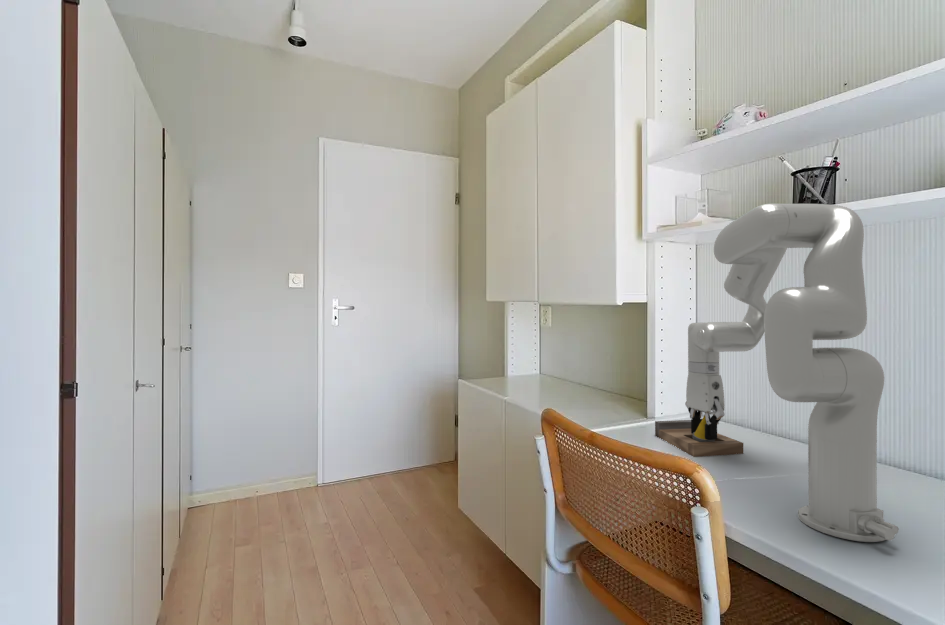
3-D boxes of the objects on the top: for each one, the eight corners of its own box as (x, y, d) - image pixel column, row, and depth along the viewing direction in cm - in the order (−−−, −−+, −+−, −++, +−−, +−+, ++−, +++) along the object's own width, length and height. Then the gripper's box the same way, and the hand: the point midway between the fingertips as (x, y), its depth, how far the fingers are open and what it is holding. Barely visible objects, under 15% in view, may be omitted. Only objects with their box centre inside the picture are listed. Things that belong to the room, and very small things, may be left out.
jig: (743, 454, 119) (743, 435, 119) (693, 457, 117) (693, 437, 117) (698, 436, 137) (698, 419, 137) (655, 438, 135) (655, 421, 135)
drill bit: (708, 444, 127) (711, 410, 125) (717, 453, 122) (720, 418, 120) (688, 443, 127) (691, 409, 125) (696, 453, 122) (699, 417, 120)
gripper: (739, 371, 116) (739, 444, 116) (696, 365, 133) (696, 428, 133) (711, 372, 115) (712, 445, 115) (672, 365, 132) (672, 429, 132)
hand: (703, 435), depth 124 cm, fingers closed on drill bit, 5 cm apart
